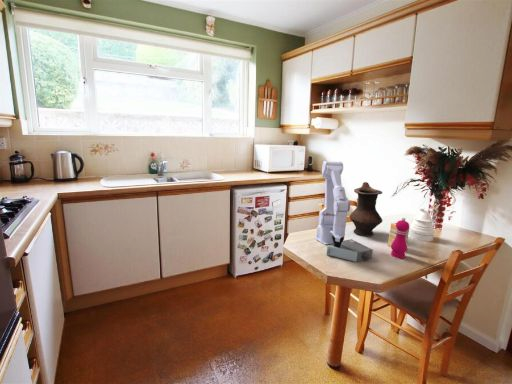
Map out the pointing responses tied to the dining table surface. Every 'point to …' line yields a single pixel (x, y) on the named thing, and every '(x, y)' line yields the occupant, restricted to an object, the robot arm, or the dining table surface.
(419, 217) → the honey pot
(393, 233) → the supplement box
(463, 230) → the dining table surface
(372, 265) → the dining table surface
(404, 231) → the pepper mill
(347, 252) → the side door
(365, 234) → the jug
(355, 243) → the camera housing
